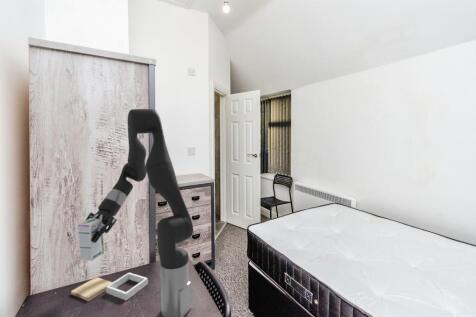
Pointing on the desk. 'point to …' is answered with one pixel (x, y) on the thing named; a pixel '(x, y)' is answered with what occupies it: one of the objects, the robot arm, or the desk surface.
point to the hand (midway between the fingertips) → (86, 240)
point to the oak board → (91, 289)
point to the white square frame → (126, 295)
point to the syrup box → (89, 240)
